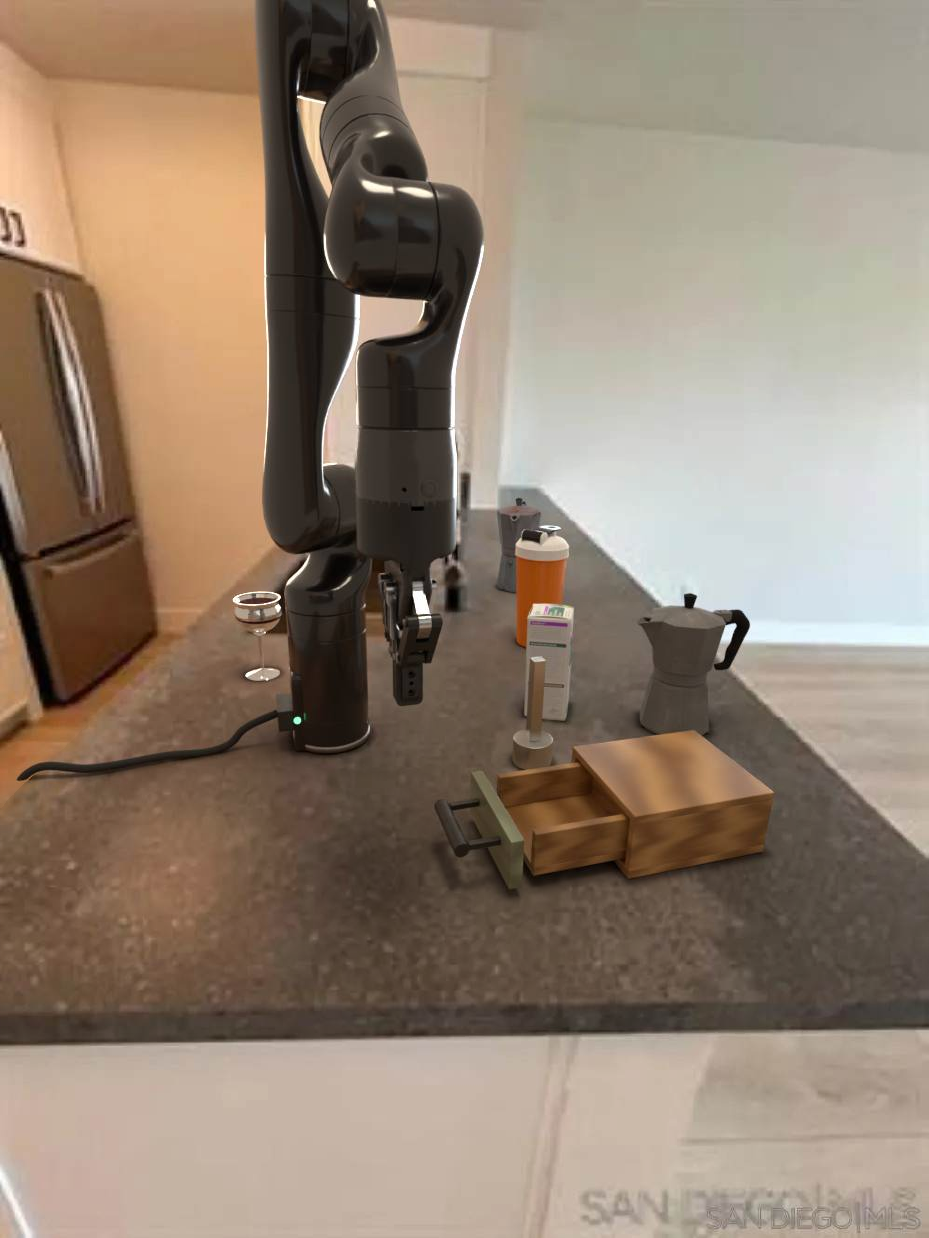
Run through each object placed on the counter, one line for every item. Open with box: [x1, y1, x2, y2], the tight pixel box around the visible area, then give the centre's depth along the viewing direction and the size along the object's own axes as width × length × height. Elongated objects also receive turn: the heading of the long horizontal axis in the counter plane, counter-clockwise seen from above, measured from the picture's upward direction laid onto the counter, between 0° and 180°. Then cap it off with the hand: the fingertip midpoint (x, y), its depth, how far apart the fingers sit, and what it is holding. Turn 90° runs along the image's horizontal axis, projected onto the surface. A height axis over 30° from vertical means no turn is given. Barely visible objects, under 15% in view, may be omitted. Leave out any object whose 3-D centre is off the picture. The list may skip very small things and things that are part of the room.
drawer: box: [433, 762, 630, 890], centre depth 63 cm, size 18×11×5 cm, turn 107°
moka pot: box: [496, 497, 542, 593], centre depth 148 cm, size 10×15×20 cm, turn 170°
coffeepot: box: [636, 592, 751, 737], centre depth 87 cm, size 15×9×18 cm, turn 101°
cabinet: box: [571, 730, 775, 880], centre depth 67 cm, size 15×13×7 cm
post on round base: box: [511, 657, 554, 770], centre depth 78 cm, size 5×5×13 cm
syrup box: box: [523, 604, 575, 722], centre depth 90 cm, size 6×6×14 cm
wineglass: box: [232, 591, 283, 682], centre depth 100 cm, size 7×7×12 cm
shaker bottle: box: [515, 525, 570, 648], centre depth 114 cm, size 9×9×20 cm
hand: (407, 701), depth 56 cm, fingers closed
